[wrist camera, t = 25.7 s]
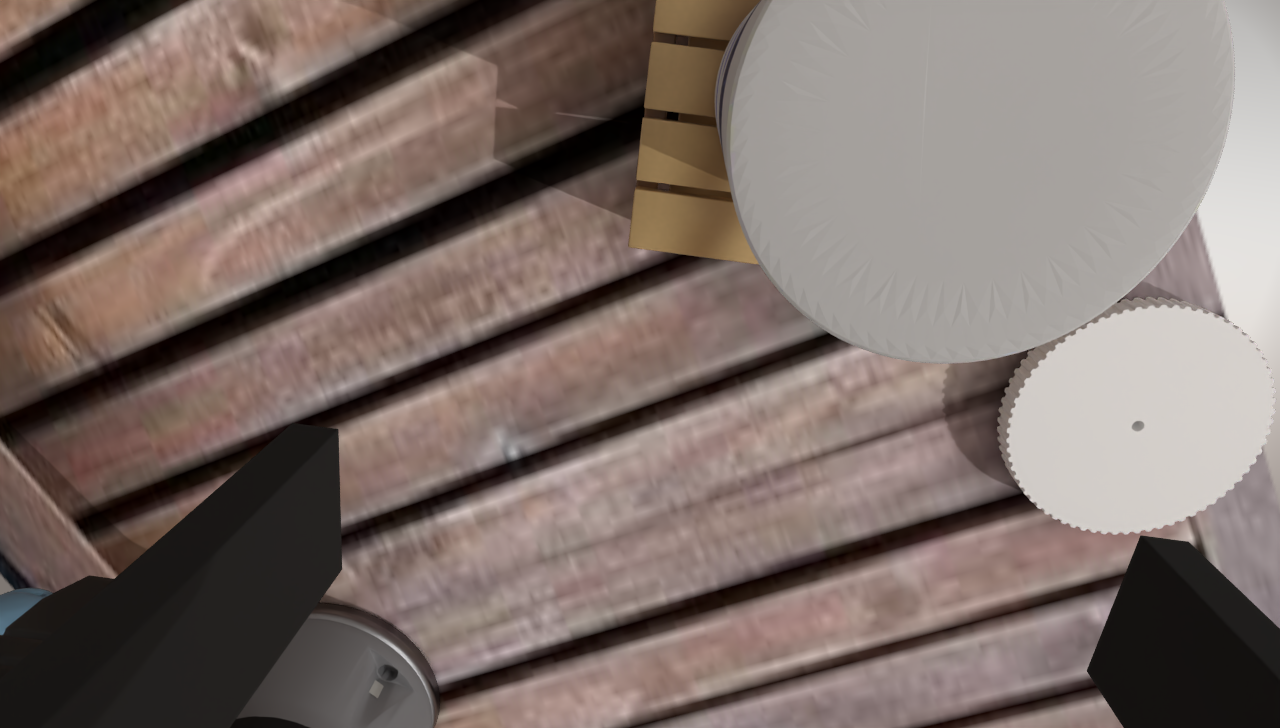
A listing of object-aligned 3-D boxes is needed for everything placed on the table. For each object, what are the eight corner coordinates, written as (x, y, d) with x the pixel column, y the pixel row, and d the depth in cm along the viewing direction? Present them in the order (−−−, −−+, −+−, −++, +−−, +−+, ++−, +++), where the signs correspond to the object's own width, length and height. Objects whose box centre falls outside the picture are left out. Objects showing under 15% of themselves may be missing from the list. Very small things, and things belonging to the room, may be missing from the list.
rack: (638, 224, 44) (627, 251, 38) (676, -100, 38) (671, -134, 32) (922, 261, 44) (961, 296, 37) (1004, -60, 38) (1067, -86, 31)
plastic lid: (1003, 529, 49) (1018, 552, 47) (979, 322, 45) (994, 337, 42) (1245, 488, 47) (1274, 510, 45) (1246, 266, 42) (1278, 278, 40)
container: (695, 3, 34) (684, -72, 15) (935, -56, 32) (1254, -221, 13) (735, 230, 37) (767, 400, 18) (954, 187, 35) (1233, 322, 17)
